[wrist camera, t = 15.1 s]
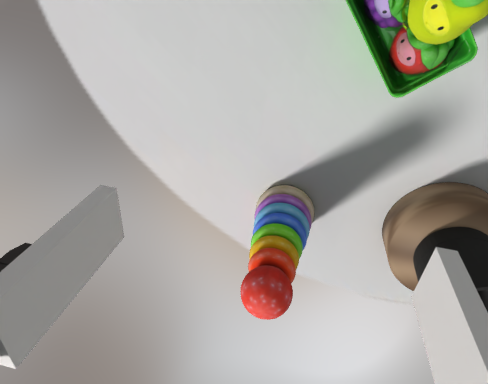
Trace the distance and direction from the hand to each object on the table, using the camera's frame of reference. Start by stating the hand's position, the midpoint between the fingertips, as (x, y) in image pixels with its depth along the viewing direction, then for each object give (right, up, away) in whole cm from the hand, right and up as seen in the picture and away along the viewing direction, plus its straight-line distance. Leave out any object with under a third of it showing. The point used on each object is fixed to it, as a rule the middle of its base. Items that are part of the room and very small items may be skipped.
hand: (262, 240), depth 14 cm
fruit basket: (+15, +20, +19) cm, 31 cm away
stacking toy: (+5, 0, +33) cm, 33 cm away
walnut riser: (+25, -3, +29) cm, 38 cm away
